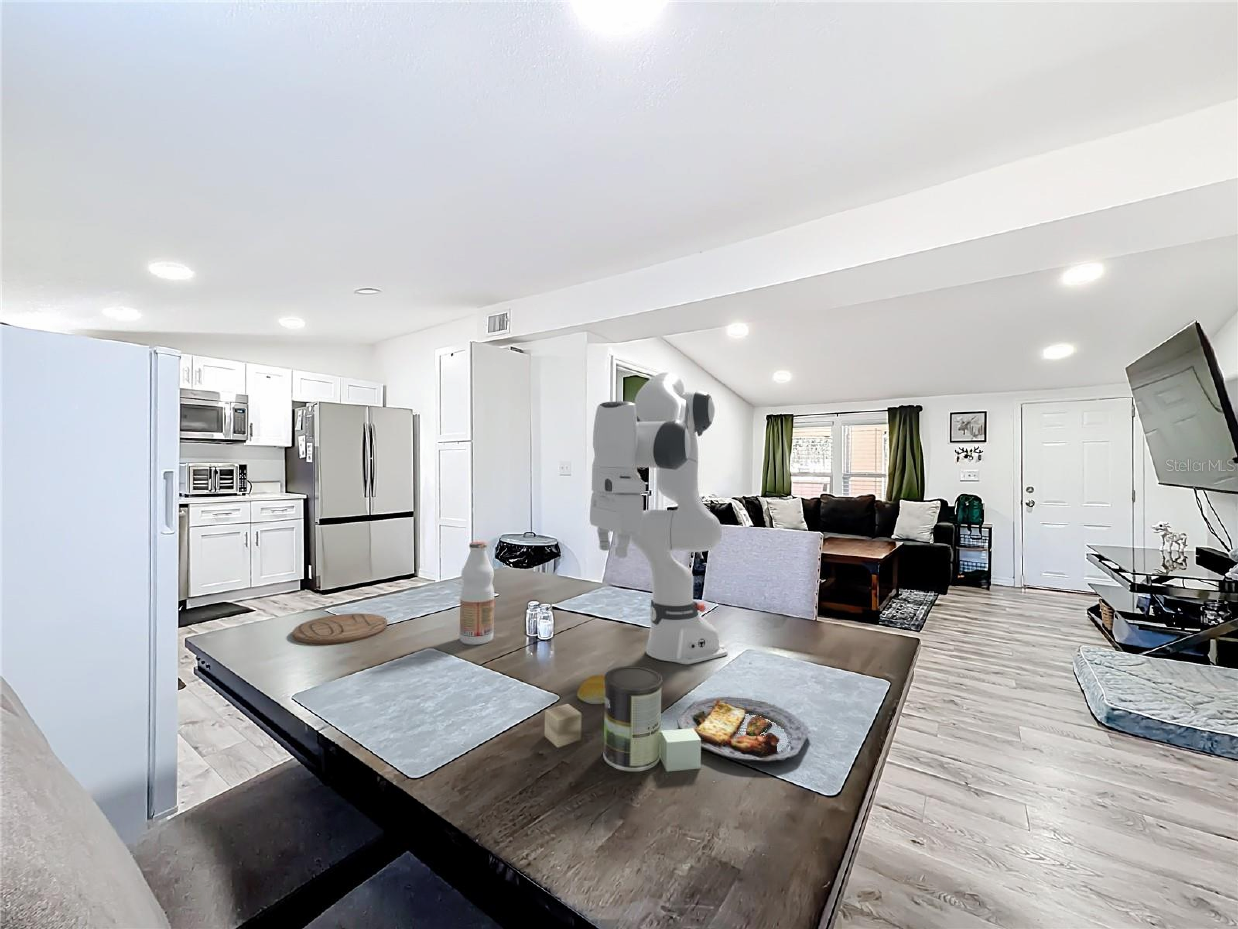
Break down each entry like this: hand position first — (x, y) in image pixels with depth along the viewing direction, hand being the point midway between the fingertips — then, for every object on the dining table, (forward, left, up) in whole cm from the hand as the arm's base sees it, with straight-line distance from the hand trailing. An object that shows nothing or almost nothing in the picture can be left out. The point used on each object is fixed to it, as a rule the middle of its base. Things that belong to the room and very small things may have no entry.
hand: (612, 553), depth 105 cm
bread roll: (-2, -15, -35) cm, 38 cm away
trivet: (+56, -81, -35) cm, 105 cm away
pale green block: (-7, +16, -34) cm, 38 cm away
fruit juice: (+19, -60, -34) cm, 72 cm away
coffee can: (0, +11, -35) cm, 36 cm away
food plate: (-23, +11, -35) cm, 43 cm away
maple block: (+10, +1, -34) cm, 36 cm away
